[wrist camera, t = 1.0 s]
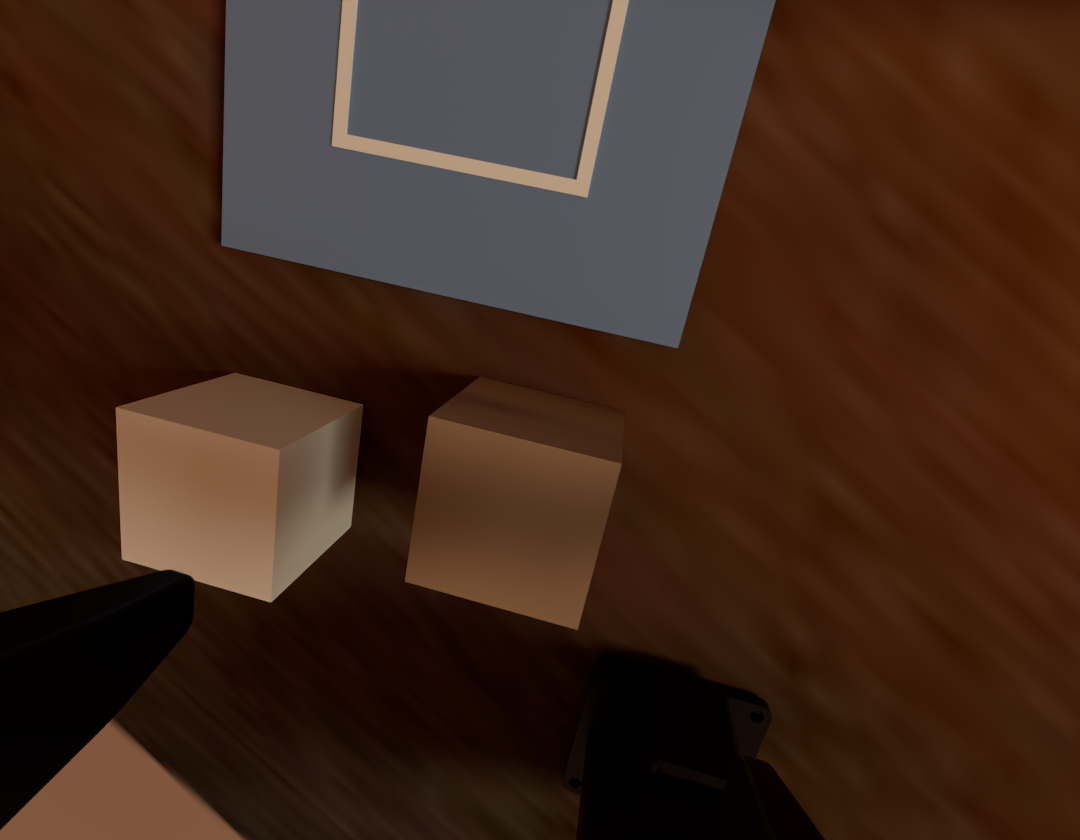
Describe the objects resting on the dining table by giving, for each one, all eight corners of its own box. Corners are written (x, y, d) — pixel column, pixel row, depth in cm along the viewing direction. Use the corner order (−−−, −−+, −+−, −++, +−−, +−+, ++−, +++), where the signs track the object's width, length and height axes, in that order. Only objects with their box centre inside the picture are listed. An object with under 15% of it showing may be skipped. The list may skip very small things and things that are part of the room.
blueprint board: (676, 344, 17) (678, 348, 16) (237, 246, 19) (219, 245, 18) (852, -290, 13) (868, -330, 12) (255, -356, 14) (230, -395, 13)
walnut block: (591, 541, 20) (577, 630, 15) (458, 506, 20) (404, 581, 16) (625, 410, 18) (621, 464, 14) (480, 376, 19) (428, 416, 14)
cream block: (351, 526, 21) (270, 602, 17) (233, 493, 22) (122, 559, 17) (364, 404, 20) (279, 450, 15) (236, 372, 20) (115, 407, 16)
